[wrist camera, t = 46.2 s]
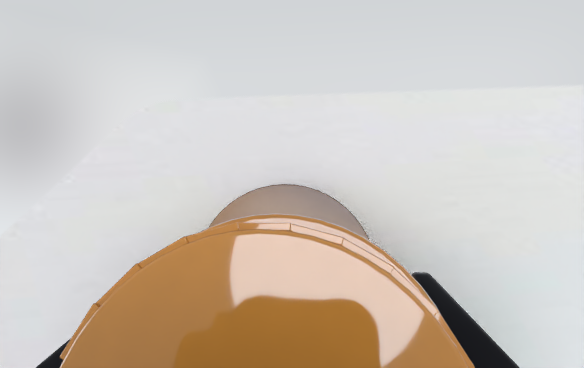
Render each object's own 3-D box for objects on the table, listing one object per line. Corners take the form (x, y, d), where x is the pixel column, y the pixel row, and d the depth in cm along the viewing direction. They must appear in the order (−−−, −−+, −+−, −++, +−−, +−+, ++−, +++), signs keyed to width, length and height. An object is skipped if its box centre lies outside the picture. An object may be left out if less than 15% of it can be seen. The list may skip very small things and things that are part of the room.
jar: (396, 280, 15) (638, 375, 4) (328, 414, 14) (376, 1104, 3) (277, 212, 16) (185, 124, 5) (208, 330, 15) (-111, 565, 4)
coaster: (369, 386, 17) (371, 391, 17) (182, 357, 18) (177, 361, 17) (382, 195, 19) (384, 193, 18) (211, 177, 20) (208, 175, 19)
